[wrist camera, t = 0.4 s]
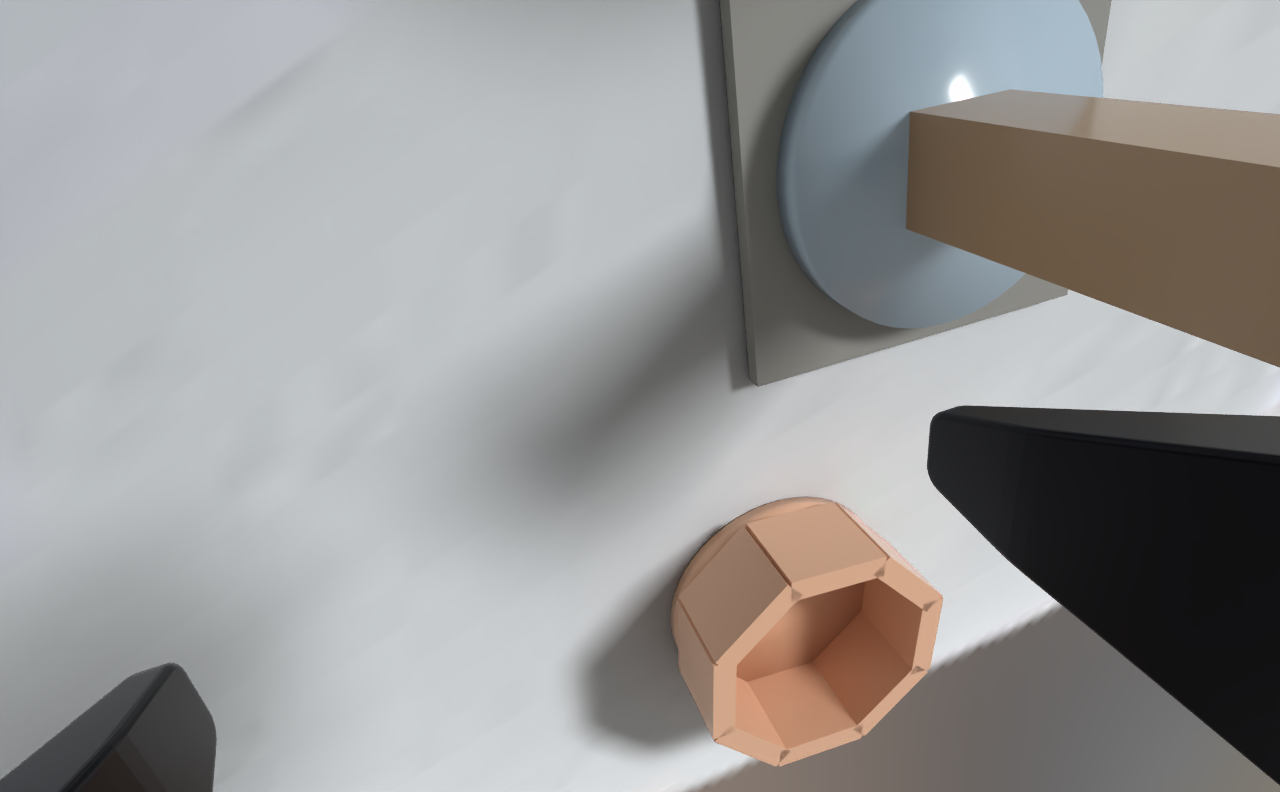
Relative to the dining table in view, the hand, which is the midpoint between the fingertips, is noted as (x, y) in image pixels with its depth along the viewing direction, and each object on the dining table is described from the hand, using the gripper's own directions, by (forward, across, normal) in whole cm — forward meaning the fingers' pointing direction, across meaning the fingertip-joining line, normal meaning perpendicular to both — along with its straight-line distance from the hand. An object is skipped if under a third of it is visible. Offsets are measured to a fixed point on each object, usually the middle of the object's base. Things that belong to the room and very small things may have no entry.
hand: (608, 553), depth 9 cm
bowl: (+12, +8, -15) cm, 21 cm away
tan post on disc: (+12, +14, 0) cm, 18 cm away
